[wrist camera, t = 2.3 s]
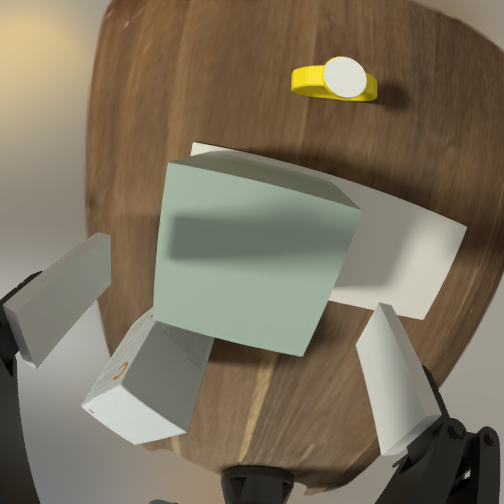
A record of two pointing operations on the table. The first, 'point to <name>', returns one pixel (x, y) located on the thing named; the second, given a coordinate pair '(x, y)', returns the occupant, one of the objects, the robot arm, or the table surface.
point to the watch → (335, 81)
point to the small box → (151, 381)
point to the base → (384, 246)
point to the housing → (249, 250)
